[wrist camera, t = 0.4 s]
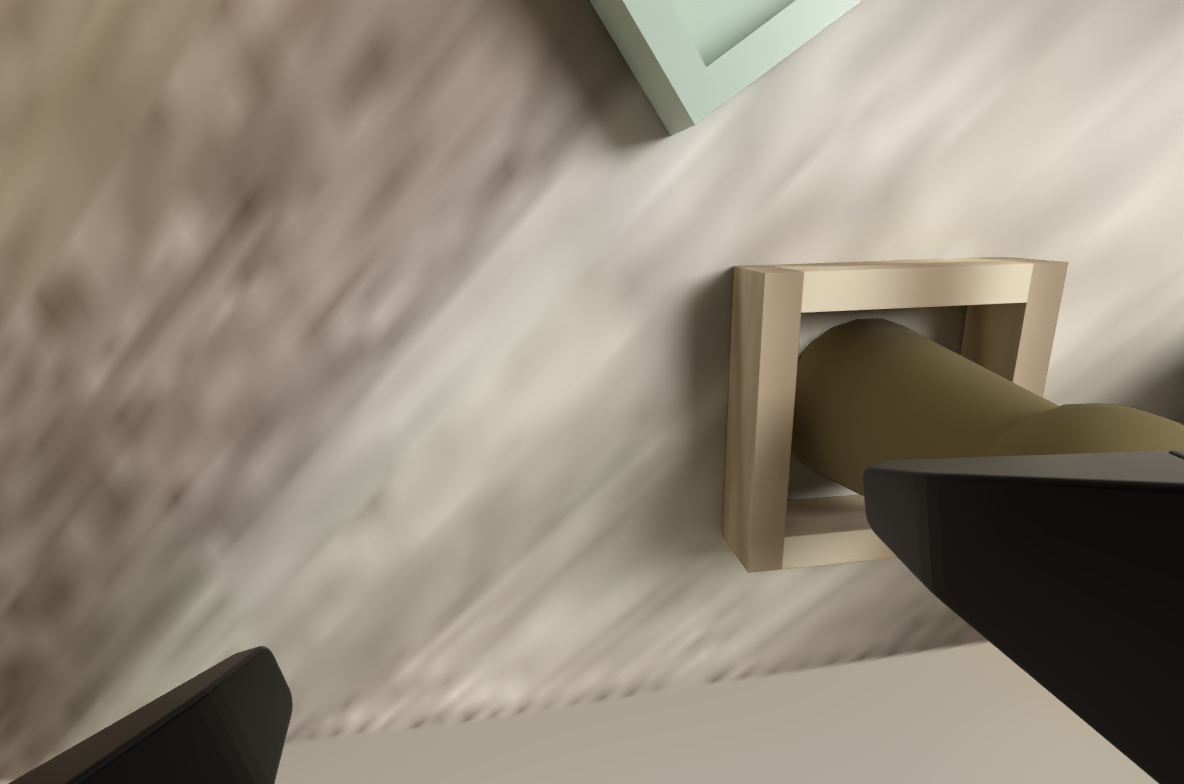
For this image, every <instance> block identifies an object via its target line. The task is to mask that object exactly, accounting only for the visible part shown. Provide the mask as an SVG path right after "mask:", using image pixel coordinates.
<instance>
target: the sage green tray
mask: <svg viewBox="0 0 1184 784" xmlns="http://www.w3.org/2000/svg"><path fill="white" fill-rule="evenodd" d="M589 1H590V3H591V4H592V6H593V8H594V9H595V11H596V13H597V14H598V16H599V18H600V19H601V21H602V23H603V24H604V26H605V28H606V29H607V31H608V33H609V34H610V36H611V38H612V39H613V41H614V43H615V44H616V46H617V48H618V49H619V51H620V53H621V54H622V56H623V58H624V59H625V61H626V63H627V64H628V66H629V68H630V69H631V71H632V73H633V74H634V76H635V78H636V79H637V81H638V83H639V84H640V86H641V88H642V89H643V91H644V93H645V94H646V96H647V98H648V99H649V101H650V103H651V104H652V106H653V108H654V110H655V111H656V113H657V115H658V116H659V118H660V120H661V121H662V123H663V125H664V126H665V128H666V130H667V131H668V133H669V135H670V136H672V135H674V134H676V133H678V132H680V131H683V130H685V129H687V128H689V127H691V126H693V125H695V124H697V123H698V122H699V121H701V120H702V119H703V118H705V117H706V116H707V115H709V114H710V113H711V112H713V111H714V110H715V109H717V108H718V107H719V106H721V105H722V104H724V103H725V102H726V101H728V100H729V99H730V98H732V97H733V96H734V95H736V94H737V93H738V92H740V91H741V90H742V89H744V88H745V87H746V86H748V85H749V84H750V83H752V82H753V81H754V80H756V79H757V78H759V77H760V76H761V75H763V74H764V73H765V72H767V71H768V70H769V69H771V68H772V67H773V66H775V65H776V64H777V63H779V62H780V61H781V60H783V59H784V58H785V57H787V56H788V55H789V54H791V53H792V52H794V51H795V50H796V49H798V48H799V47H800V46H802V45H803V44H804V43H806V42H807V41H808V40H810V39H811V38H812V37H814V36H815V35H816V34H818V33H819V32H820V31H822V30H823V29H824V28H826V27H827V26H828V25H830V24H831V23H833V22H834V21H835V20H837V19H838V18H839V17H841V16H842V15H843V14H845V13H846V12H847V11H849V10H850V9H851V8H853V7H854V6H855V5H857V4H858V3H859V2H861V1H862V0H589Z"/></svg>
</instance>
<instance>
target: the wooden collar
mask: <svg viewBox="0 0 1184 784" xmlns="http://www.w3.org/2000/svg"><path fill="white" fill-rule="evenodd" d="M1067 266H1068V262H1059V261H1047V260H1035V259H1023V258H1011V257H993V258H964V259H935V260H906V261H876V262H847V263H818V264H789V265H759V266H734V279H733V302H732V326H731V349H730V373H729V396H728V420H727V443H726V466H725V490H724V513H723V537H724V538H725V540H726V541H727V543H728V544H729V546H730V547H731V549H732V550H733V551H734V553H735V554H736V556H737V557H738V559H739V560H740V562H741V563H742V564H743V566H744V567H745V569H746V570H747V572H748V573H749V572H759V571H768V570H778V569H788V568H798V567H808V566H818V565H827V564H837V563H847V562H857V561H867V560H876V559H886V558H896V557H897V556H896V555H895V554H894V553H893V552H892V551H891V550H890V549H889V548H888V547H887V546H886V545H885V544H884V543H883V542H882V541H881V540H880V539H879V538H878V536H877V535H876V534H875V533H874V532H873V531H872V529H871V527H870V526H869V523H868V521H867V518H866V513H865V502H864V496H862V495H850V496H839V497H827V498H816V499H804V500H793V501H787V496H788V483H789V469H790V456H791V442H792V429H793V415H794V402H795V388H796V375H797V361H798V348H799V334H800V321H801V313H803V312H825V311H847V310H870V309H892V308H914V307H936V306H958V305H967V311H966V318H965V324H964V331H963V338H962V345H961V351H960V355H961V356H963V357H965V358H967V359H969V360H971V361H972V362H974V363H976V364H978V365H980V366H982V367H984V368H986V369H988V370H990V371H992V372H994V373H996V374H998V375H1000V376H1001V377H1003V378H1005V379H1007V380H1009V381H1011V382H1013V383H1015V384H1017V385H1019V386H1021V387H1023V388H1025V389H1027V390H1029V391H1030V392H1032V393H1034V394H1036V395H1038V396H1040V397H1043V392H1044V387H1045V381H1046V376H1047V371H1048V366H1049V360H1050V355H1051V350H1052V345H1053V339H1054V334H1055V329H1056V324H1057V319H1058V313H1059V308H1060V303H1061V298H1062V292H1063V287H1064V282H1065V277H1066V272H1067Z"/></svg>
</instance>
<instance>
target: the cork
mask: <svg viewBox="0 0 1184 784" xmlns="http://www.w3.org/2000/svg"><path fill="white" fill-rule="evenodd" d="M791 449H792V451H793V452H794V454H795V455H796V457H797V459H799V460H800V461H802V462H803V463H804V464H806V465H807V466H809V467H810V468H811V469H813V470H814V471H815V472H817V473H819V474H821V475H823V476H825V477H827V478H829V479H831V480H833V481H835V482H837V483H839V484H841V485H843V486H844V487H846V488H848V489H850V490H852V491H854V492H856V493H858V494H860V495H862V496H864V492H863V482H862V474H863V471H864V469H865V468H866V467H868V466H870V465H873V464H877V463H880V462H884V461H888V460H910V459H940V458H969V457H998V456H1028V455H1057V454H1086V453H1116V452H1145V451H1164V452H1167V453H1169V451H1171V450H1175V449H1184V425H1182V424H1181V423H1178V422H1175V421H1172V420H1170V419H1167V418H1164V417H1161V416H1158V415H1155V414H1152V413H1149V412H1146V411H1142V410H1139V409H1135V408H1132V407H1128V406H1125V405H1114V404H1095V403H1094V404H1068V405H1062V406H1058V405H1056V404H1054V403H1052V402H1050V401H1048V400H1046V399H1044V398H1042V397H1040V396H1038V395H1036V394H1034V393H1032V392H1030V391H1029V390H1027V389H1025V388H1023V387H1021V386H1019V385H1017V384H1015V383H1013V382H1011V381H1009V380H1007V379H1005V378H1003V377H1001V376H1000V375H998V374H996V373H994V372H992V371H990V370H988V369H986V368H984V367H982V366H980V365H978V364H976V363H974V362H972V361H971V360H969V359H967V358H965V357H963V356H961V355H959V354H957V353H955V352H953V351H951V350H949V349H947V348H945V347H943V346H942V345H940V344H938V343H936V342H934V341H932V340H930V339H928V338H926V337H924V336H922V335H920V334H918V333H916V332H914V331H913V330H911V329H909V328H907V327H905V326H902V325H899V324H896V323H893V322H890V321H888V320H885V319H856V320H853V321H850V322H847V323H845V324H842V325H839V326H836V327H833V328H831V329H830V330H828V331H827V332H826V333H824V334H823V335H821V336H820V337H819V338H817V339H816V340H815V341H813V342H812V343H810V344H809V345H808V347H807V348H806V349H805V351H804V352H803V353H802V354H801V356H800V357H799V358H798V361H797V375H796V388H795V402H794V415H793V429H792V442H791Z"/></svg>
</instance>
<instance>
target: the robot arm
mask: <svg viewBox="0 0 1184 784" xmlns="http://www.w3.org/2000/svg"><path fill="white" fill-rule="evenodd" d="M862 482H863V492H864V502H865V513H866V518H867V521H868V523H869V526H870V527H871V529H872V531H873V532H874V533H875V534H876V535H877V536H878V538H879V539H880V540H881V541H882V542H883V543H884V544H885V545H886V546H887V547H888V548H889V549H890V550H891V551H892V552H893V553H894V554H895V555H896V556H897V557H898V558H899V559H900V560H901V561H902V563H903V564H904V565H905V566H906V567H907V568H908V569H909V570H910V571H911V572H912V573H913V574H914V575H915V576H916V577H917V578H918V579H919V580H920V581H921V582H922V583H923V584H924V585H925V586H926V587H927V588H928V589H929V590H930V591H931V592H932V593H933V594H934V595H935V596H936V597H937V598H939V599H940V600H941V601H942V602H943V603H944V604H945V605H946V606H948V607H949V608H950V609H951V610H952V611H954V612H955V613H956V614H957V615H958V616H960V617H961V618H962V619H963V620H964V621H966V622H967V623H968V624H969V625H970V626H972V627H973V628H974V629H975V630H976V631H977V632H979V633H980V634H981V635H982V636H983V637H985V638H986V639H987V640H988V641H989V642H991V643H992V644H993V645H994V646H995V647H997V648H998V649H999V650H1000V651H1001V652H1003V653H1004V654H1005V655H1006V656H1007V657H1009V658H1010V659H1011V660H1012V661H1013V662H1014V663H1016V664H1017V665H1018V666H1019V667H1020V668H1022V669H1023V670H1024V671H1025V672H1027V673H1028V674H1029V675H1030V676H1031V677H1032V678H1034V679H1035V680H1036V681H1037V682H1038V683H1040V684H1041V685H1042V686H1043V687H1044V688H1046V689H1047V690H1048V691H1049V692H1050V693H1052V694H1053V695H1054V696H1055V697H1056V698H1057V699H1059V700H1060V701H1061V702H1063V703H1064V704H1065V705H1066V706H1067V707H1068V708H1070V709H1071V710H1072V711H1073V712H1074V713H1075V714H1077V715H1078V716H1079V717H1080V718H1081V719H1083V720H1084V721H1085V722H1086V723H1087V724H1088V725H1090V726H1091V727H1092V728H1093V729H1094V730H1096V731H1097V732H1098V733H1099V734H1101V735H1102V736H1103V737H1104V738H1105V739H1106V740H1108V741H1109V742H1110V743H1111V744H1112V745H1114V746H1115V747H1116V748H1117V749H1118V750H1120V751H1121V752H1122V753H1123V754H1124V755H1126V756H1127V757H1128V758H1129V759H1130V760H1132V761H1133V762H1134V763H1135V764H1136V765H1137V766H1139V767H1140V768H1141V769H1142V770H1144V771H1145V772H1146V773H1147V774H1148V775H1149V776H1151V777H1152V778H1153V779H1154V780H1155V781H1157V782H1158V783H1159V784H1184V449H1175V450H1171V451H1169V453H1167V452H1164V451H1145V452H1116V453H1086V454H1057V455H1028V456H998V457H969V458H940V459H910V460H888V461H884V462H880V463H877V464H873V465H870V466H868V467H866V468H865V469H864V471H863V474H862ZM292 705H293V703H292V696H291V692H290V689H289V687H288V685H287V683H286V681H285V678H284V676H283V674H282V672H281V670H280V668H279V666H278V664H277V661H276V659H275V657H274V655H273V653H272V652H271V651H270V650H269V648H267V647H264V646H259V647H256V648H253V649H249V650H246V651H243V652H239V653H237V654H234V655H232V656H230V657H229V658H227V659H225V660H223V661H222V662H220V663H218V664H216V665H215V666H213V667H211V668H209V669H208V670H206V671H204V672H203V673H201V674H199V675H197V676H196V677H194V678H192V679H190V680H189V681H187V682H185V683H183V684H182V685H180V686H178V687H176V688H175V689H173V690H171V691H169V692H168V693H166V694H164V695H162V696H161V697H159V698H157V699H155V700H154V701H152V702H150V703H148V704H147V705H145V706H143V707H141V708H140V709H138V710H136V711H134V712H133V713H131V714H129V715H127V716H126V717H124V718H122V719H120V720H119V721H117V722H115V723H113V724H112V725H110V726H108V727H106V728H105V729H103V730H101V731H100V732H98V733H96V734H94V735H93V736H91V737H89V738H87V739H86V740H84V741H82V742H80V743H79V744H77V745H75V746H73V747H72V748H70V749H68V750H66V751H65V752H63V753H61V754H59V755H58V756H56V757H54V758H52V759H51V760H49V761H47V762H45V763H44V764H42V765H40V766H38V767H37V768H35V769H33V770H31V771H30V772H28V773H26V774H24V775H23V776H21V777H19V778H17V779H16V780H14V781H12V782H10V783H9V784H274V783H275V779H276V775H277V770H278V767H279V762H280V759H281V755H282V750H283V747H284V743H285V739H286V734H287V730H288V726H289V722H290V718H291V714H292Z"/></svg>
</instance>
